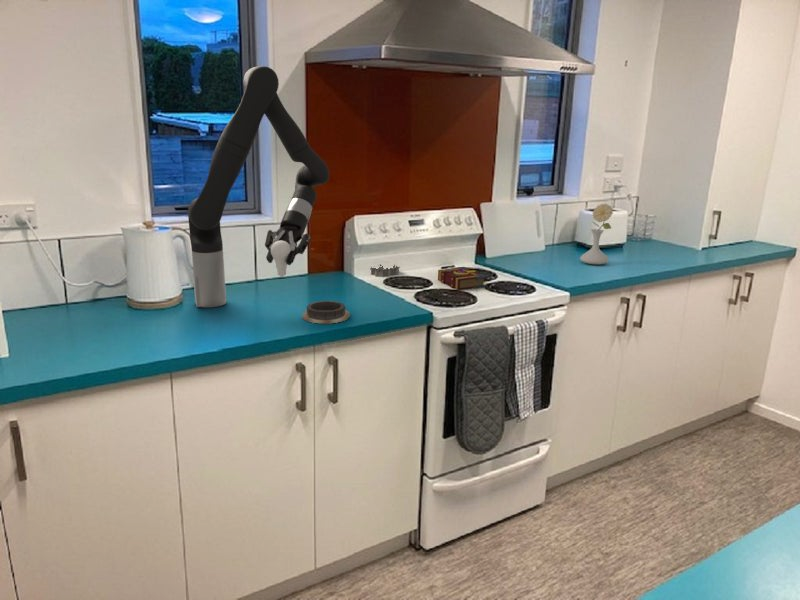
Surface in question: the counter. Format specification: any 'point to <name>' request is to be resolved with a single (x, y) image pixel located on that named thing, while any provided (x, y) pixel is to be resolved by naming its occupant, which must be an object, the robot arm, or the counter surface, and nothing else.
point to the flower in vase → (598, 236)
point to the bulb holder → (326, 312)
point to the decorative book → (461, 278)
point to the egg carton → (384, 271)
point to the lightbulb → (280, 256)
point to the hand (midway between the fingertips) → (278, 262)
